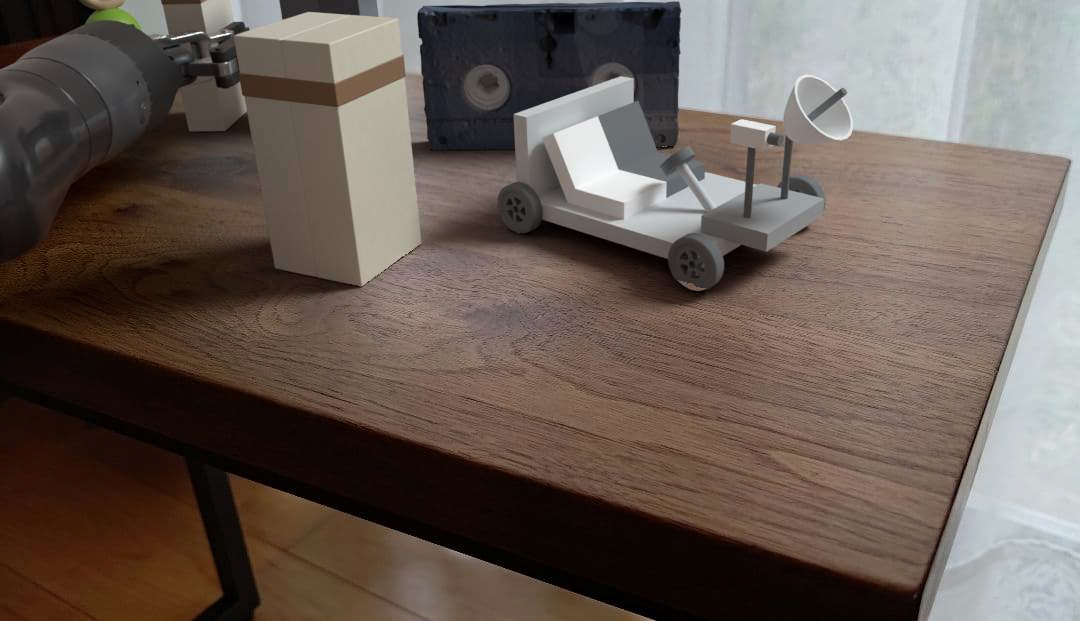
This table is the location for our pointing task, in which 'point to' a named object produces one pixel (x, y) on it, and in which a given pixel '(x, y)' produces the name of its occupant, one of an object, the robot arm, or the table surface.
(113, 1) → the snail figurine
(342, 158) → the cream brown-striped block
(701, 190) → the toy car
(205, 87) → the cream rectangular block
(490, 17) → the vhs cassette tape
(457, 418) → the table surface
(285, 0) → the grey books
